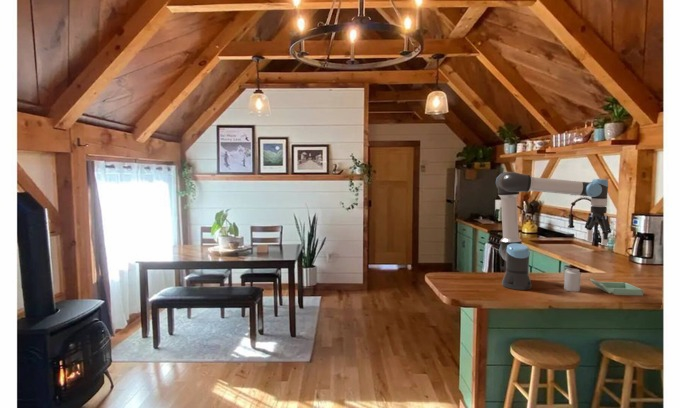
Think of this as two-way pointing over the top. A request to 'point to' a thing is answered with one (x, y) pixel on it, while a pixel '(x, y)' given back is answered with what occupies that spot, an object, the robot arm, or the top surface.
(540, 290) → the top surface
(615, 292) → the green open box
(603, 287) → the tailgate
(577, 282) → the can
